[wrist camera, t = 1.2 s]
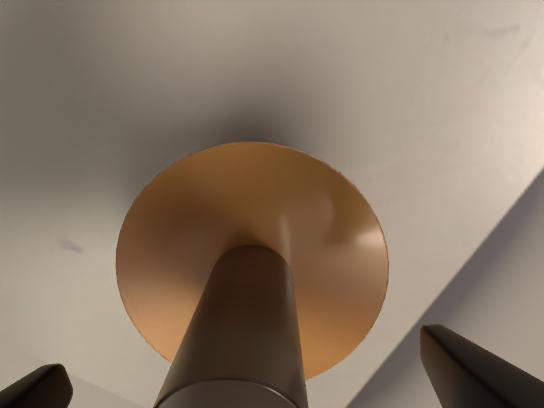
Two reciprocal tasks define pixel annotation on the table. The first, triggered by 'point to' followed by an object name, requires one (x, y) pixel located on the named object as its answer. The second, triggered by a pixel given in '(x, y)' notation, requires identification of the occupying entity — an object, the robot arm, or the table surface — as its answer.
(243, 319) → the lid
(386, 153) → the table surface
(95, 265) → the table surface
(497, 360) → the robot arm
